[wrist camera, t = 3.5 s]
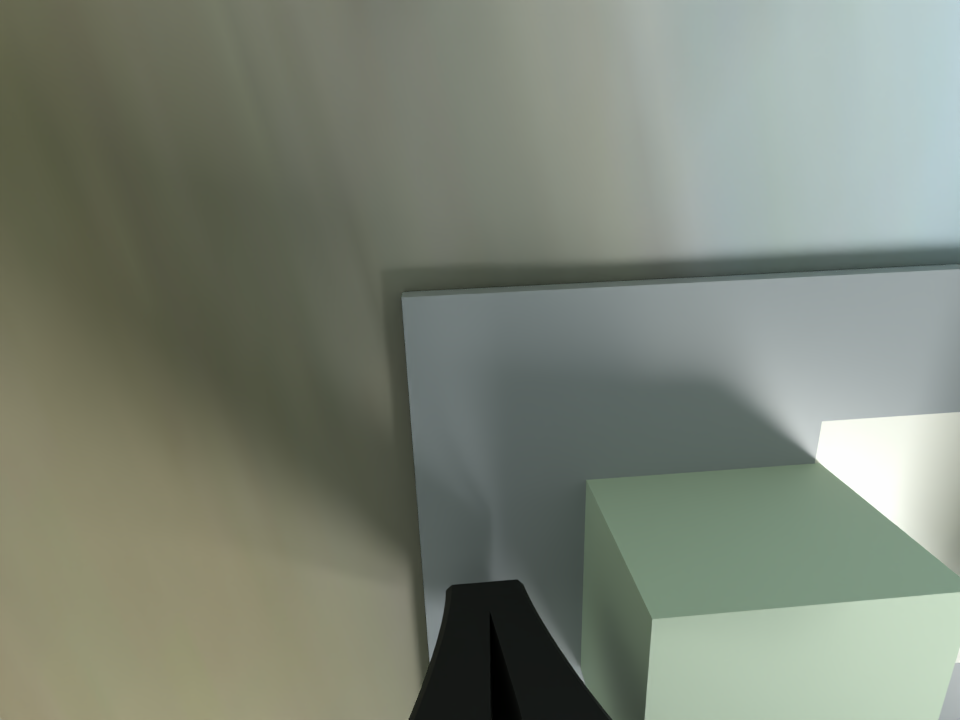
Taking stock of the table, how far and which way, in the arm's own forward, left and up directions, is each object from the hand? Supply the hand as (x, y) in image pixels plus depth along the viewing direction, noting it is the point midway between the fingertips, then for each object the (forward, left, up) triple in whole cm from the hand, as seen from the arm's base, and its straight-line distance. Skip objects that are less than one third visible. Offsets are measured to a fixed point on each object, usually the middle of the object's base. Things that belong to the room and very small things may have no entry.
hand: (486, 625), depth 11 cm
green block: (0, -4, -1) cm, 5 cm away
